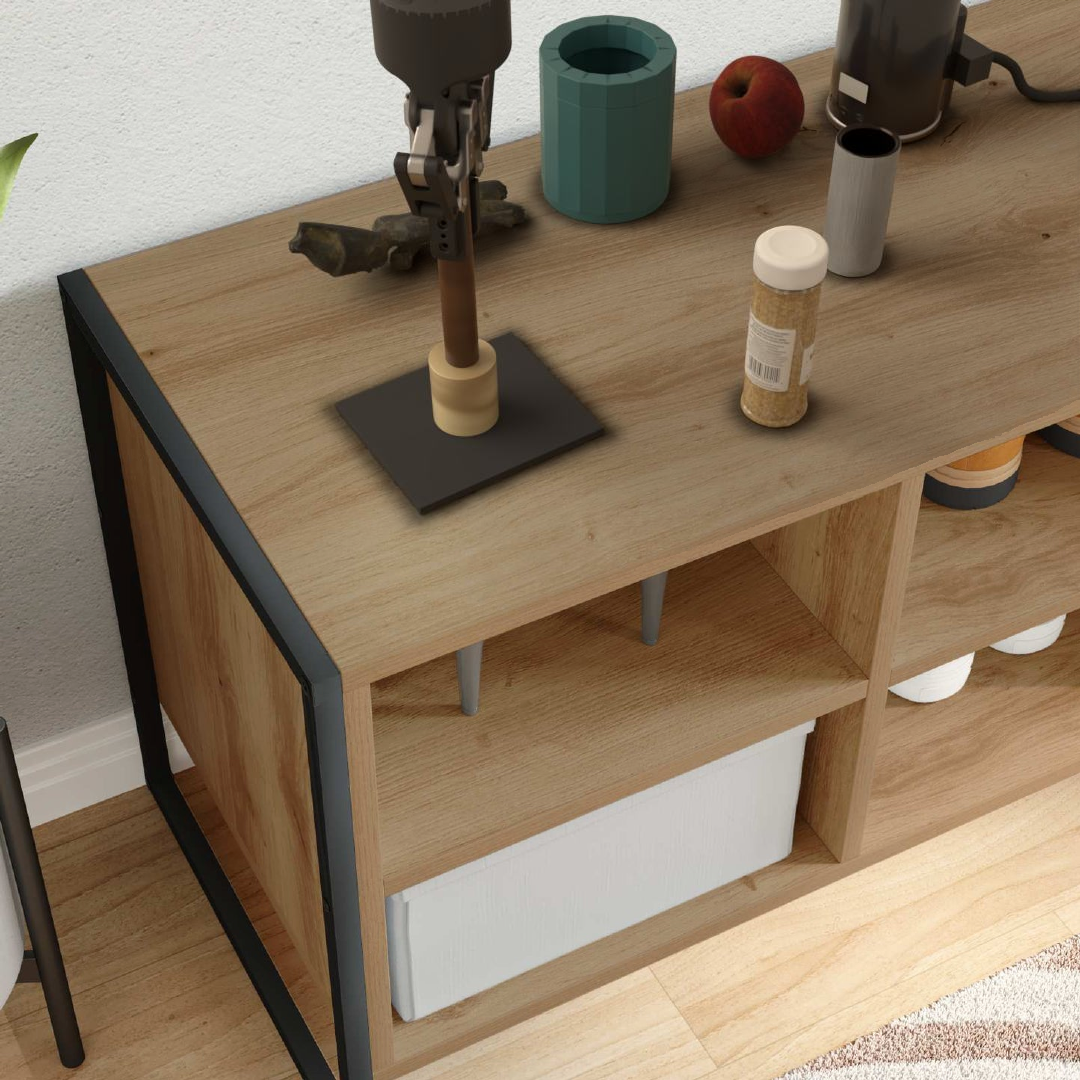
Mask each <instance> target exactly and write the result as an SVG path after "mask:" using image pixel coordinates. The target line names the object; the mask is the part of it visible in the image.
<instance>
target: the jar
mask: <svg viewBox="0 0 1080 1080" xmlns="http://www.w3.org/2000/svg"><path fill="white" fill-rule="evenodd" d="M677 53H678V48H677V46H676V43H675V42H674V39H673V37H672V35H671V34H670V33H668V32H667V31H665V30H664V29H663V28H661V27H660V26H659V25H657V24H656V23H654V22H653V23H652V22H650V21H646V20H644V19H640V18H639V17H636V16H634V17H633V16H627V15H626V16H625V15H616V14H615V15H614V14H599V15H592V16H591V15H590V16H584V17H580V18H576V19H573V20H570V21H567V22H564V23H561V24H559V25H557V26H556V27H554V28H553V29H552V30H550V31H549V32H548V33H546V34H545V35H544V37H543V39H542V41H541V44H540V45H539V47H538V65H539V67H538V69H539V72H538V73H539V76H538V78H539V123H540V125H539V126H540V128H539V129H540V173H541V176H540V177H541V181H542V192H543V196H544V197H545V200H546V201H547V202H548V204H549V205H550V206H551V207H552V208H553V209H555V210H556V212H557V211H558V212H559V213H560V214H562V215H564V216H567V217H568V218H571V219H574V220H576V221H581V222H585V223H592V224H606V225H607V224H620V223H626V222H631V221H635V220H638V219H641V218H644V217H646V216H648V215H650V214H652V213H653V212H655V211H656V210H658V209H659V208H660V207H661V206H662V205H663V204H664V202H665V201H666V199H667V198H668V195H669V190H670V180H671V178H672V177H671V174H672V158H673V156H672V155H673V139H674V138H673V137H674V136H673V135H674V118H675V115H674V114H675V98H676V97H675V95H676V78H677V77H676V75H677V74H676V73H677V57H678V56H677V55H678V54H677Z"/></svg>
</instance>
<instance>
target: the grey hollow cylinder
mask: <svg viewBox="0 0 1080 1080" xmlns="http://www.w3.org/2000/svg"><path fill="white" fill-rule="evenodd" d="M901 148H902V143H901V140H900V137H899V136H898V135H897V133H896V132H894V131H893V130H891V129H890V128H888V127H886V126H883V125H879V124H875V123H856V124H852V125H849V126H846V127H844V128H843V129H841V130H838V132H837V134H836V137H835V141H834V147H833V149H834V151H833V155H832V164H831V169H830V170H831V171H830V178H829V186H828V193H827V201H826V208H825V215H824V222H823V228H822V229H823V230H822V231H823V232H822V235H821V236H822V237H823V238H824V239H825V241H826V242H827V245H828V248H829V255H828V264H827V271H830V272H831V273H833V274H836V275H837V276H838V275H839V276H841V277H842V276H843V277H849V278H860V277H864V276H865V277H866V276H869V275H871V274H873V273H874V272H876V271H877V270H878V269H879V267H880V265H881V263H882V260H883V253H884V247H885V242H886V235H887V230H888V224H889V219H890V213H891V207H892V202H893V195H894V189H895V183H896V177H897V172H898V167H899V166H898V165H899V160H900V154H901Z"/></svg>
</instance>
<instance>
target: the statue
mask: <svg viewBox="0 0 1080 1080" xmlns="http://www.w3.org/2000/svg"><path fill="white" fill-rule="evenodd" d="M508 194H509V193H508V188H507V185H505V184H504V183H502V181H500V180H498V179H489V180H481V181H479V198H480V217H481V225H480V228H484V227H490V226H494V227H495V226H496V227H499V226H500V227H501V226H502V227H507V228H512V227H513V225H519V224H522V223H524V222H525V221H526V218H527V216H526V212H525V211H526V208H525V207H524V208H523V206H522V205H520V204H516V203H513V202H511V201H506V199H507V198H508ZM287 243H288V250H289V251H290V253H291V254H302V255H303V256H305V257H306V258H307V259H308V261H309V262H310V263H311V264H312V265H313V266H314V267H315V268H316V269H318V270H319V271H321V272H324V273H327V274H328V275H329V276H331V277H332V278H340V277H345V276H349V275H354V274H358V273H361V272H366V273H368V274H370V273H372V272H373V270H378V269H379V268H381V267H384V266H385V265H386V264H387V263H389V268H390V269H392V270H393V271H405V270H408V269H410V268H411V267H412V264H413V260H414V259H413V258H414V256H415V255H416V254H417V253H418V252H419V250H420V248H421V247H422V245H425V244H426V243H430V236H429V224H428V218H427V217H419V216H413V215H412V212H411V211H409V212H404V213H403V212H402V213H397V214H394V213H393V214H392V213H391V214H386V215H381V216H378V217H377V218H375V220H374V221H373V224H372V227H371V230H370V229H367V228H363V227H362V228H361V227H354V226H349V225H344V224H336V223H335V224H334V223H326V222H315V221H300V222H299V223H298V226H297V231H296V234H295V236H294V237H292V238H291V239H290V240H289V241H288V242H287ZM394 247H396V248H395V249H394V250H393V251H392V252H391V253H390V255H389V251H390V249H392V248H394Z"/></svg>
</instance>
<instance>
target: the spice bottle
mask: <svg viewBox="0 0 1080 1080" xmlns="http://www.w3.org/2000/svg"><path fill="white" fill-rule="evenodd" d="M822 236H823V235H820V234H819V233H818V232H816V231H814V230H812V229H810V228H807V227H804V226H799V225H790V224H789V225H780V226H774V227H773V228H772V227H771V228H769V229H767V230H765V231H764V232H763V233H761V234H760V235H759V236H758V238H757V239H756V241H755V244H754V252H753V260H752V261H753V262H752V269H753V273H754V279H753V287H752V296H751V297H752V299H751V303H750V308H749V317H748V318H749V319H748V327H747V337H746V338H747V339H746V347H745V348H746V349H745V357H744V358H745V361H744V383H743V390H742V393H741V398H740V408H741V410H742V412H743V413H744V415H745V416H746V417H747V418H748V419H750V420H751V421H753V422H754V423H756V424H758V425H761V426H765V427H768V428H782V427H789V426H792V425H793V424H796V423H797V422H799V421H800V420H801V419H802V418H803V417H804V416H805V414H806V412H807V410H808V391H809V383H810V382H809V381H810V376H811V373H812V367H813V358H814V352H815V344H816V336H817V335H816V334H817V326H818V311H819V305H820V298H821V290H822V289H821V288H822V283H823V282H824V278H825V277H826V275H827V271H828V269H827V264H828V255H829V248H828V245H827V242H826V241H825V239H824V238H823V237H822Z"/></svg>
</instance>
